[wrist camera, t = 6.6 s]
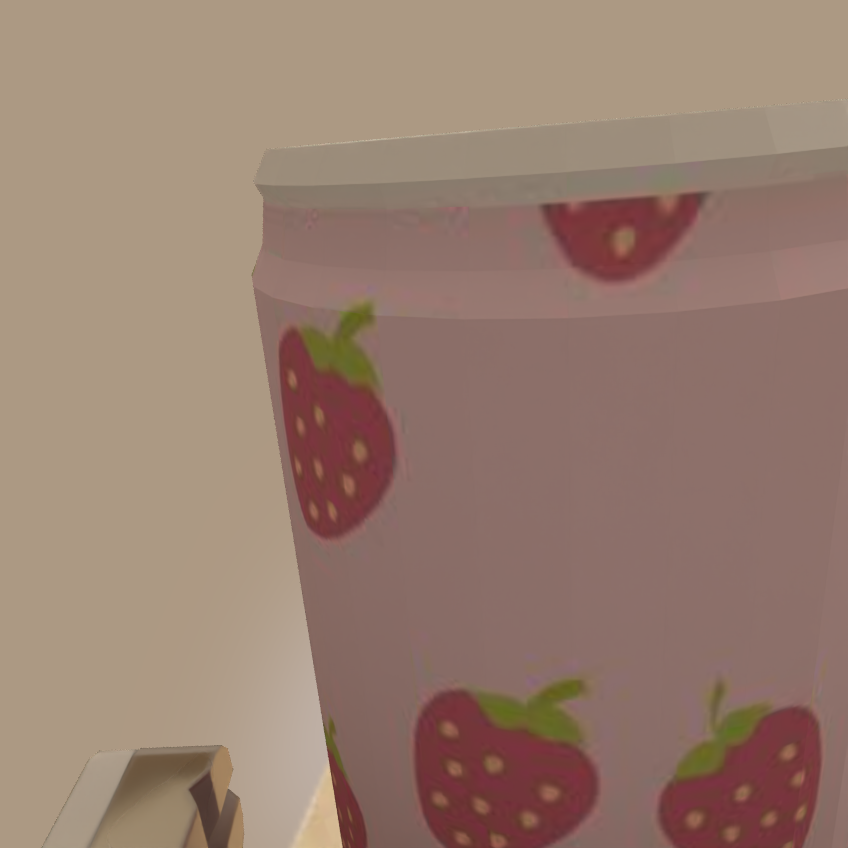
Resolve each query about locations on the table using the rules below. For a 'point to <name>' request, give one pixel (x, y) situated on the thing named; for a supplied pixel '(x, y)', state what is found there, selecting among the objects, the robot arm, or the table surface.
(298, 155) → the beverage can
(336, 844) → the table surface
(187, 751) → the robot arm
